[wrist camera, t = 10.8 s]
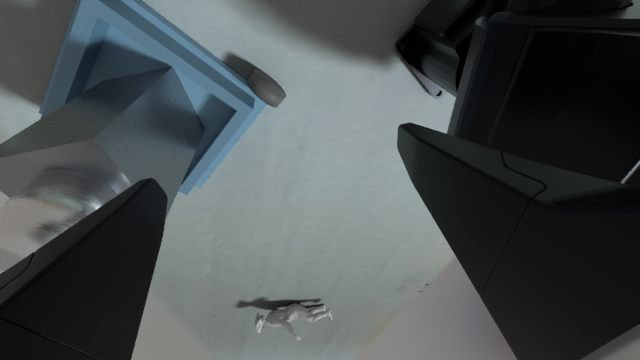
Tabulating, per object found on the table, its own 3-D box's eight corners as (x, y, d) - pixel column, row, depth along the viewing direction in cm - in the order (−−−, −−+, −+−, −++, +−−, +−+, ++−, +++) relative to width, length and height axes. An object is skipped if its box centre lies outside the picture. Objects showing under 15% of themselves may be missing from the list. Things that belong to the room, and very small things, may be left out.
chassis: (285, 88, 21) (286, 103, 18) (208, 184, 25) (201, 205, 23) (93, -68, 14) (56, -76, 12) (38, 102, 19) (4, 120, 16)
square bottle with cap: (173, 66, 18) (38, 188, 8) (205, 129, 21) (140, 275, 11) (102, 81, 18) (-128, 223, 8) (145, 142, 21) (23, 299, 11)
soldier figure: (319, 308, 48) (256, 336, 43) (313, 283, 48) (250, 308, 43) (338, 325, 41) (264, 361, 36) (331, 295, 41) (257, 327, 36)
